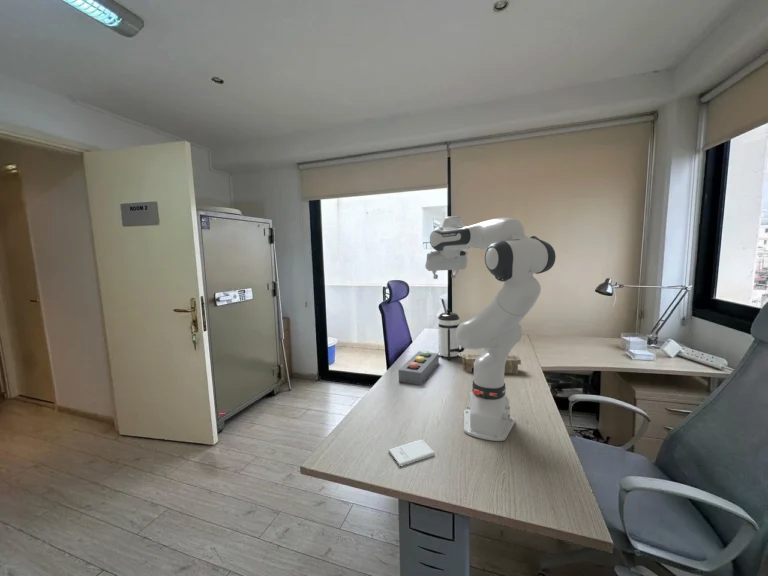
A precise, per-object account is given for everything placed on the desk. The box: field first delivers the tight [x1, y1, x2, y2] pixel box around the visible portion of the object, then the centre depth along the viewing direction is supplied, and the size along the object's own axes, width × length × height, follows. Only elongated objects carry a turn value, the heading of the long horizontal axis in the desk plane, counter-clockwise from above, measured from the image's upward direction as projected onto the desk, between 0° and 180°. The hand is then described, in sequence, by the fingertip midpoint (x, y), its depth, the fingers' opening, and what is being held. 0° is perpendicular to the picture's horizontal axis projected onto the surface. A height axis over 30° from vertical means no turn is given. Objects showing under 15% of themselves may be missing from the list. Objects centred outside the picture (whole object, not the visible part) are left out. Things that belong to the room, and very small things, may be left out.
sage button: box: [420, 350, 431, 357], centre depth 178 cm, size 5×5×2 cm
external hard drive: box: [388, 439, 436, 467], centre depth 100 cm, size 2×8×12 cm
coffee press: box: [437, 308, 465, 361], centre depth 191 cm, size 17×16×30 cm
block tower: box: [461, 353, 522, 375], centre depth 168 cm, size 8×8×29 cm
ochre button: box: [415, 356, 424, 363], centre depth 169 cm, size 5×5×2 cm
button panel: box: [398, 350, 440, 385], centre depth 169 cm, size 32×12×6 cm, turn 155°
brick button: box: [409, 362, 419, 370], centre depth 160 cm, size 5×5×2 cm
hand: (444, 278), depth 151 cm, fingers open, 8 cm apart
